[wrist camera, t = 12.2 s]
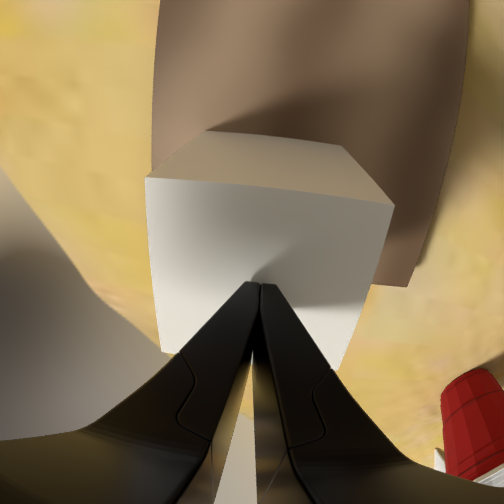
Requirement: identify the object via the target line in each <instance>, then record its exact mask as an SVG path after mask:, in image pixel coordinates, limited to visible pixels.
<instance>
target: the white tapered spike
mask: <svg viewBox="0 0 504 504" xmlns="http://www.w3.org/2000/svg"><path fill="white" fill-rule="evenodd" d="M434 463H435V466H434V468H433V469H435V470H438V471H441V472H444V473H446V470H445V461H444V459H443V457H442V456H441V455H440V453H439V452H438V451H437V449H435V460H434Z"/></svg>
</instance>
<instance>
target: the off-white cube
mask: <svg viewBox="0 0 504 504" xmlns="http://www.w3.org/2000/svg"><path fill="white" fill-rule="evenodd" d="M145 196H146V215H147V230H148V243H149V255H150V265H151V275H152V284H153V293H154V301H155V309H156V317H157V324H158V331H159V338H160V344H161V351H162V352H166V353H172V354H176V353H177V352H179V350H180V349H181V348H182V347H183V346H184V345H185V344H186V343H187V342H188V341H189V340H190V339H191V338H192V337H193V336H194V335H195V334H196V332H197V331H198V330H199V329H200V328H201V327H202V326H203V325H204V324H205V323H206V322H207V321H208V320H209V319H210V318H211V317H212V316H213V315H214V313H215V312H216V311H217V310H218V309H219V308H220V307H221V306H222V305H223V304H224V303H225V302H226V301H227V300H228V299H229V298H230V296H231V295H232V294H233V293H234V292H235V291H236V290H237V289H238V288H239V287H240V286H241V285H242V284H243V283H244V282H245V281H251V282H259V283H260V286H261V284H262V283H269V284H276V285H277V286H278V288H279V289H280V291H281V292H282V294H283V295H284V297H285V298H286V300H287V301H288V303H289V304H290V306H291V307H292V309H293V310H294V312H295V313H296V315H297V316H298V318H299V319H300V321H301V322H302V324H303V325H304V327H305V328H306V330H307V331H308V333H309V334H310V336H311V337H312V339H313V340H314V342H315V343H316V345H317V346H318V348H319V349H320V351H321V352H322V354H323V355H324V357H325V358H326V360H327V361H328V363H329V364H330V366H331V368H332V369H333V370H336V371H338V368H339V366H340V364H341V361H342V359H343V357H344V354H345V352H346V349H347V347H348V344H349V342H350V339H351V337H352V334H353V332H354V329H355V327H356V324H357V322H358V319H359V316H360V314H361V311H362V308H363V305H364V303H365V300H366V297H367V294H368V291H369V289H370V286H371V283H372V280H373V277H374V274H375V271H376V268H377V265H378V261H379V258H380V255H381V252H382V249H383V245H384V242H385V239H386V235H387V232H388V228H389V225H390V221H391V218H392V214H393V210H394V207H395V205H394V204H393V202H392V201H391V200H390V199H389V198H388V196H387V195H386V194H385V193H384V192H383V191H382V189H381V188H380V187H379V186H378V185H377V184H376V183H375V181H374V180H373V179H372V178H371V177H370V176H369V175H368V174H367V173H366V171H365V170H364V169H363V168H362V167H361V166H360V165H359V164H358V163H357V162H356V161H355V160H354V158H353V157H352V156H351V155H350V154H349V153H348V152H347V151H346V150H345V149H344V148H343V147H342V146H340V145H334V144H327V143H321V142H314V141H307V140H300V139H292V138H284V137H275V136H266V135H256V134H245V133H233V132H219V131H203V132H202V133H201V134H199V135H198V136H197V137H195V138H194V139H193V140H191V141H190V142H189V143H187V144H186V145H185V146H183V147H182V148H181V149H179V150H178V151H177V152H176V153H174V154H173V155H172V156H170V157H169V158H168V159H167V160H165V161H164V162H163V163H162V164H160V165H159V166H158V167H157V168H155V169H154V170H153V171H152V172H151V173H149V174H148V175H147V176H146V177H145ZM252 356H253V354H252ZM251 364H252V361H251Z"/></svg>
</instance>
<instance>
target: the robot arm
mask: <svg viewBox="0 0 504 504" xmlns="http://www.w3.org/2000/svg"><path fill="white" fill-rule="evenodd" d="M252 354H253V356H252ZM251 361H252V380H253V407H254V434H255V460H256V486H257V504H504V487H495V486H489V485H485V484H481V483H477V482H474V481H470V480H467V479H463V478H460V477H457V476H453V475H450V474H447V473H444V472H441V471H438V470H435V469H432V468H429V467H426V466H423V465H421V464H418V463H416V462H414V461H412V460H411V459H409V458H408V457H406V456H405V455H404V454H403V453H402V452H400V451H399V450H398V449H397V448H396V447H395V446H394V444H393V443H392V442H391V441H390V440H389V439H388V438H387V437H386V435H385V434H384V433H383V432H382V431H381V430H380V429H379V427H378V426H377V425H376V424H375V423H374V422H373V421H372V419H371V418H370V417H369V416H368V415H367V414H366V413H365V411H364V410H363V409H362V408H361V407H360V405H359V404H358V403H357V402H356V400H355V399H354V398H353V397H352V396H351V394H350V393H349V392H348V390H347V389H346V387H345V386H344V385H343V383H342V382H341V380H340V379H339V377H338V376H337V374H336V373H335V371H334V370H333V369H332V368H331V366H330V364H329V363H328V361H327V360H326V358H325V357H324V355H323V354H322V352H321V351H320V349H319V348H318V346H317V345H316V343H315V342H314V340H313V339H312V337H311V336H310V334H309V333H308V331H307V330H306V328H305V327H304V325H303V324H302V322H301V321H300V319H299V318H298V316H297V315H296V313H295V312H294V310H293V309H292V307H291V306H290V304H289V303H288V301H287V300H286V298H285V297H284V295H283V294H282V292H281V291H280V289H279V288H278V286H277V285H276V284H269V283H262V284H261V286H260V283H259V282H251V281H245V282H244V283H243V284H242V285H241V286H240V287H239V288H238V289H237V290H236V291H235V292H234V293H233V294H232V295H231V296H230V298H229V299H228V300H227V301H226V302H225V303H224V304H223V305H222V306H221V307H220V308H219V309H218V310H217V311H216V312H215V313H214V315H213V316H212V317H211V318H210V319H209V320H208V321H207V322H206V323H205V324H204V325H203V326H202V327H201V328H200V329H199V330H198V331H197V332H196V334H195V335H194V336H193V337H192V338H191V339H190V340H189V341H188V342H187V343H186V344H185V345H184V346H183V347H182V348H181V349H180V350H179V352H177V353H176V354H175V355H174V356H173V357H172V359H171V360H170V361H169V362H168V363H167V364H166V365H165V366H164V367H162V368H161V369H160V371H158V372H157V373H156V374H155V375H154V376H153V377H152V378H151V379H149V380H148V381H147V382H146V383H144V384H143V385H142V386H141V387H140V388H138V389H137V390H136V391H135V392H133V393H132V394H131V395H130V396H128V397H127V398H126V399H124V400H123V401H122V402H120V403H119V404H118V405H116V406H115V407H114V408H113V409H111V410H110V411H109V412H108V413H106V414H105V415H103V416H102V417H101V418H99V419H98V420H96V421H95V422H93V423H91V424H90V425H88V426H86V427H83V428H81V429H78V430H75V431H71V432H65V433H59V434H52V435H45V436H38V437H31V438H22V439H13V440H2V441H0V504H213V503H214V501H215V497H216V493H217V490H218V487H219V483H220V480H221V476H222V472H223V469H224V465H225V462H226V458H227V454H228V450H229V447H230V443H231V439H232V436H233V432H234V428H235V424H236V421H237V417H238V413H239V409H240V405H241V401H242V398H243V394H244V390H245V386H246V382H247V378H248V374H249V370H250V366H251Z"/></svg>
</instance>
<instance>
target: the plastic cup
mask: <svg viewBox="0 0 504 504" xmlns="http://www.w3.org/2000/svg"><path fill="white" fill-rule="evenodd" d="M441 413H442V421H443V440H444V453H445V470H446V473H447V474H450V475H453V476H457V477H460V478H463V479H467V480H470V481H474V482H477V483H481V484H485V485H489V486H495V487H504V391H503V389H502V388H501V386H500V385H499V383H498V382H497V381H496V379H495V378H494V377H493V375H492V374H491V373H489V371H488V370H486V369H482V368H481V369H476V370H472V371H470V372H467V373H465V374H463V375H461V376H460V377H458V378H457V379H455V380H454V381H453V382H451V383H450V384H449V385H448V386H447V387H446V388H445V390H444V391H443V393H442V394H441Z"/></svg>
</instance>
